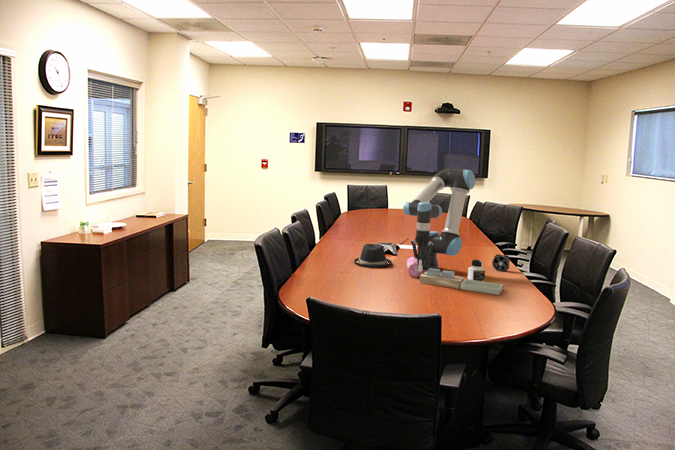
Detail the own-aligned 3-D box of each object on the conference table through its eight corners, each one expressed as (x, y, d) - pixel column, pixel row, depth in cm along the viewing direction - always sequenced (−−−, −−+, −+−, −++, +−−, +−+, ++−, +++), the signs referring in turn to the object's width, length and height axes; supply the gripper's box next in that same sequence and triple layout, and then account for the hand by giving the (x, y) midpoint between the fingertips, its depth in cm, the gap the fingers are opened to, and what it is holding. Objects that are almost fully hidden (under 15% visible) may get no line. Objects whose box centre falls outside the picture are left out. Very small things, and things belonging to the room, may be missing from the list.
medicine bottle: (472, 282, 293) (474, 261, 291) (467, 279, 300) (468, 258, 298) (484, 282, 294) (486, 261, 293) (478, 278, 301) (480, 258, 300)
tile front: (443, 275, 289) (443, 270, 289) (454, 276, 286) (454, 271, 286) (440, 277, 284) (441, 272, 283) (451, 279, 281) (451, 273, 281)
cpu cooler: (491, 270, 326) (492, 254, 325) (493, 268, 331) (494, 253, 330) (508, 272, 322) (509, 256, 320) (509, 270, 327) (511, 255, 325)
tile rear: (429, 273, 293) (430, 268, 292) (440, 274, 290) (440, 269, 290) (426, 275, 287) (426, 270, 287) (437, 276, 285) (437, 271, 284)
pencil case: (423, 278, 297) (424, 263, 296) (407, 277, 298) (408, 262, 296) (420, 270, 318) (421, 256, 317) (405, 269, 319) (406, 255, 317)
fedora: (391, 260, 344) (392, 242, 342) (392, 269, 317) (393, 249, 316) (355, 258, 346) (356, 240, 345) (352, 267, 320) (353, 247, 318)
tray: (465, 284, 287) (466, 278, 287) (502, 289, 279) (503, 284, 278) (460, 289, 276) (460, 283, 276) (498, 295, 267) (499, 289, 267)
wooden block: (425, 278, 297) (426, 271, 297) (463, 284, 287) (464, 277, 287) (419, 282, 286) (419, 275, 286) (458, 288, 277) (459, 281, 276)
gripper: (409, 229, 288) (407, 270, 291) (432, 231, 282) (429, 273, 285) (414, 227, 295) (411, 268, 298) (436, 230, 289) (433, 271, 292)
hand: (420, 270), depth 292 cm, fingers closed
